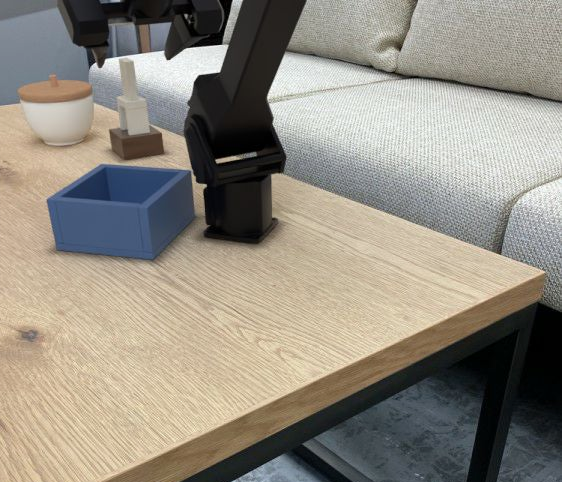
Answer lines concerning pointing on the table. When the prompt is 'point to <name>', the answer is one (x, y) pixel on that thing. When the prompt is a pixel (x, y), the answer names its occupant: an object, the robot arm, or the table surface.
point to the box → (122, 210)
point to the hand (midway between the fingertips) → (133, 61)
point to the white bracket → (131, 102)
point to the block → (136, 143)
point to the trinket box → (58, 110)
